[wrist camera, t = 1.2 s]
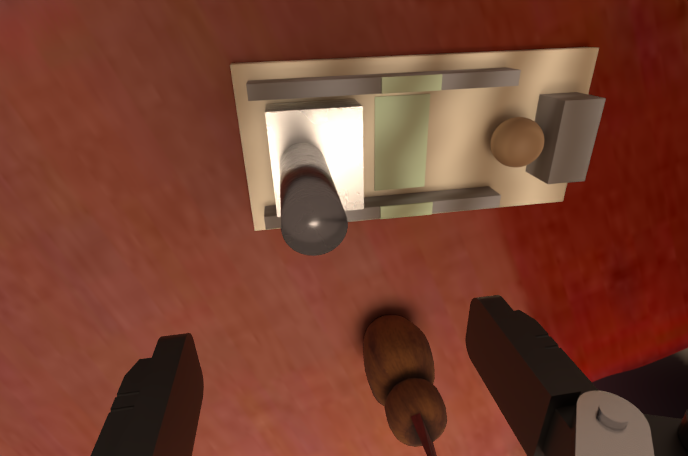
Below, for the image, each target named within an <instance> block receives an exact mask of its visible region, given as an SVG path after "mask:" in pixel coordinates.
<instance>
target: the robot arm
mask: <svg viewBox="0 0 688 456" xmlns="http://www.w3.org/2000/svg"><path fill="white" fill-rule="evenodd" d="M466 348H467V352H468V355H469V357H470V359H471V361H472V363H473V364H474V366H475V368H476V370H477V371H478V373H479V375H480V376H481V378H482V380H483V381H484V383H485V385H486V386H487V388H488V390H489V392H490V393H491V395H492V397H493V398H494V400H495V402H496V403H497V405H498V407H499V408H500V410H501V412H502V414H503V415H504V417H505V419H506V420H507V422H508V424H509V425H510V427H511V429H512V430H513V432H514V434H515V436H516V437H517V439H518V441H519V442H520V444H521V446H522V447H523V449H524V451H525V452H526V454H527V456H688V410H687V412H686V414H685V416H684V417H683V419H677V418H669V417H662V416H654V415H647V414H642V413H641V412H640V411H639V410H638V409H637V408H636V407H635V406H634V405H632V404H631V403H630V402H628V401H627V400H625V399H623V398H621V397H619V396H617V395H614V394H612V393H608V392H604V391H599V390H598V389H597V388H596V387H595V386H594V385H593V383H592V382H591V381H590V380H589V379H588V378H587V377H586V376H585V375H584V373H583V372H582V371H581V370H580V369H579V368H578V367H577V366H576V364H575V363H574V362H573V361H572V360H571V359H570V358H569V357H568V355H567V354H566V353H565V352H564V351H563V350H562V349H561V348H559V347H558V344H557V343H556V342H555V341H554V340H553V339H552V338H551V337H549V336H548V333H547V332H546V331H545V330H544V329H543V327H542V326H541V325H540V324H539V323H538V322H537V321H536V320H535V319H533V318H531V317H530V316H528V315H527V314H525V313H523V312H522V311H520V310H516V311H513V309H512V308H511V307H510V306H509V305H508V304H507V302H506V301H505V300H504V299H503V298H502V297H501V296H499V295H494V296H486V297H478V298H473V299H472V301H471V304H470V311H469V318H468V325H467V332H466ZM203 387H204V386H203V375H202V370H201V367H200V363H199V359H198V355H197V352H196V348H195V344H194V340H193V337H192V335H191V334H190V333H186V334H178V335H170V336H162V337H160V338H159V340H158V342H157V345H156V348H155V350H154V353H153V356H152V358H146V359H139V361H138V362H137V363H136V364H135V365H134V366H133V367H132V368H131V369H130V371H129V372H128V373H127V374H126V375H125V376H124V379H123V381H122V383H121V386H120V388H119V390H118V393H117V397H115V400H114V402H113V404H112V407H111V412H110V413H109V414H108V416H107V419H106V421H105V423H104V426H103V428H102V430H101V433H100V435H99V437H98V440H97V442H96V444H95V447H94V449H93V451H92V454H91V456H192V451H193V446H194V441H195V435H196V430H197V425H198V420H199V415H200V409H201V404H202V399H203Z"/></svg>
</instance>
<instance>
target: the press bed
mask: <svg viewBox="0 0 688 456" xmlns="http://www.w3.org/2000/svg"><path fill="white" fill-rule="evenodd" d="M598 50H599V48H595V47H577V48H555V49H533V50H511V51H489V52H467V53H445V54H423V55H402V56H380V57H358V58H336V59H314V60H292V61H270V62H248V63H231V64H230V68H231V75H232V82H233V88H234V95H235V102H236V109H237V115H238V122H239V129H240V135H241V142H242V149H243V155H244V162H245V169H246V175H247V182H248V189H249V196H250V202H251V209H252V216H253V222H254V229H255V231H258V230H268V229H279V228H281V217H277V209H276V201H275V192H274V184H273V175H272V167H271V159H270V150H269V142H268V133H267V125H266V116H265V108H266V104H273V103H290V102H307V101H324V100H341V99H355V100H356V101H357V102H358V103H360V104H361V105H362V106H363V182H364V209H360V210H349V211H345V214H346V216H347V222H352V221H362V220H372V219H389V218H399V217H410V216H420V215H430V214H435V213H445V212H456V211H466V210H477V209H487V208H497V207H508V206H518V205H529V204H539V203H550V202H560V201H563V199H564V195H565V190H566V186H567V183H568V182H579V181H585V178H586V174H587V170H588V166H589V162H590V158H591V154H592V150H593V146H594V142H595V138H596V134H597V131H598V127H599V123H600V119H601V115H602V111H603V107H604V103H605V99H606V98H602V97H597V96H593V95H588V92H589V88H590V84H591V80H592V75H593V71H594V67H595V63H596V58H597V54H598ZM514 117H525V118H529V119H531V120H533V121H535V122H536V123H537V124H538V125H539V126H540V128H541V129H542V131H543V134H544V147H543V150H542V152H541V153H540V155H539V156H538V157H537V159H536V160H534V161H533V162H532V163H530V164H528V165H526V166H522V167H508V166H505V165H503V164H501V163H500V162H498V161H497V160H496V158H495V157H494V156H493V154H492V151H491V138H492V135H493V133H494V131H495V129H496V128H497V127H498V126H499V125H500V124H501V123H503V122H504V121H506V120H508V119H510V118H514Z"/></svg>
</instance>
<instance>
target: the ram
mask: <svg viewBox="0 0 688 456" xmlns="http://www.w3.org/2000/svg"><path fill="white" fill-rule="evenodd" d="M265 116H266V125H267V133H268V142H269V150H270V159H271V167H272V175H273V184H274V192H275V201H276V209H277V217H281V231H282V235H283V238H284V240H285V242H286V243H287V244H288V245H289V246H290V247H291V248H292V249H293V250H295V251H297V252H299V253H301V254H304V255H312V256H313V255H322V254H325V253H328V252H330V251H332V250H333V249H335V248H336V247H337V246H338V245H339V244H340V243H341V242H342V240H343V239H344V237H345V235H346V232H347V228H348V222H347V216H346V214H345V211H349V210H360V209H364V182H363V106H362V105H361V104H360V103H358V102H357V101H356V100H355V99H341V100H324V101H307V102H290V103H273V104H266V108H265Z"/></svg>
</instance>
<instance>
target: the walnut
mask: <svg viewBox="0 0 688 456" xmlns="http://www.w3.org/2000/svg"><path fill="white" fill-rule="evenodd" d="M543 147H544V134H543V131H542V129H541V128H540V126H539V125H538V124H537V123H536V122H535V121H533V120H531V119H529V118H525V117H514V118H510V119H508V120H506V121H504V122H503V123H501V124H500V125H499V126H498V127H497V128H496V129H495V131H494V133H493V135H492V138H491V151H492V154H493V156H494V157H495V158H496V160H497V161H498V162H500V163H501V164H503V165H505V166H508V167H522V166H526V165H528V164H530V163H532V162H533V161H534V160H536V159H537V157H538V156H539V155H540V153H541V152H542V150H543Z"/></svg>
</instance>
